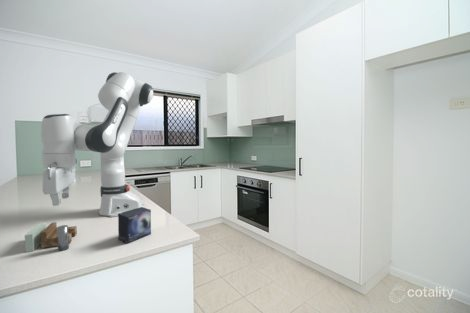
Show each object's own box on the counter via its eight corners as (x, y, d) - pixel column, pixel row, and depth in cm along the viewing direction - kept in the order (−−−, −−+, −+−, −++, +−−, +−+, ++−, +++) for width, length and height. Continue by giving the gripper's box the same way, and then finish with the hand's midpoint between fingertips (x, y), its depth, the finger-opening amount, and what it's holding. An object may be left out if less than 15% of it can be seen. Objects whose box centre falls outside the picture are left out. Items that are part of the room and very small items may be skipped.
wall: (47, 236, 86) (46, 222, 86) (33, 251, 75) (32, 234, 75) (40, 237, 86) (39, 222, 85) (25, 252, 75) (24, 235, 74)
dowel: (69, 246, 79) (68, 224, 79) (67, 250, 76) (66, 227, 76) (59, 247, 78) (58, 225, 77) (56, 251, 75) (55, 229, 75)
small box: (127, 244, 81) (126, 216, 80) (117, 240, 84) (116, 213, 84) (152, 234, 90) (151, 209, 89) (142, 230, 93) (141, 206, 93)
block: (76, 233, 89) (76, 220, 89) (69, 243, 80) (68, 229, 80) (52, 236, 86) (51, 222, 86) (41, 247, 77) (40, 232, 77)
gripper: (60, 164, 67) (62, 209, 68) (78, 158, 85) (79, 194, 86) (34, 165, 64) (36, 211, 65) (58, 159, 83) (59, 195, 84)
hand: (61, 201), depth 76 cm, fingers open, 8 cm apart
